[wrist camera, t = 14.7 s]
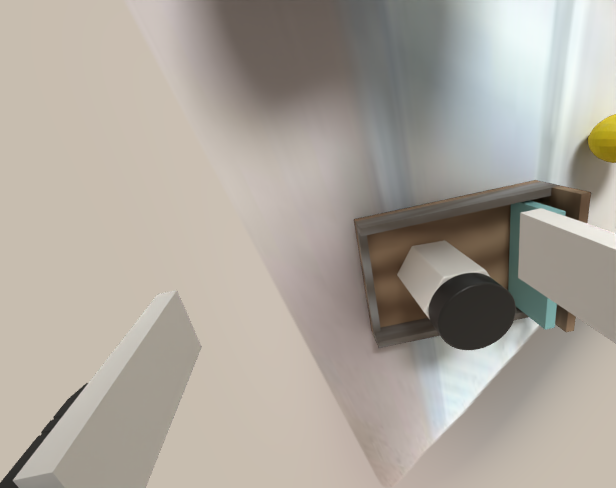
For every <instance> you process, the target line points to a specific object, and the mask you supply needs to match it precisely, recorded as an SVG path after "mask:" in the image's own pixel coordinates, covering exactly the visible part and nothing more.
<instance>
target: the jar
mask: <svg viewBox="0 0 616 488" xmlns="http://www.w3.org/2000/svg"><path fill="white" fill-rule="evenodd" d="M397 276H398V277H399V279H400V280H401V281H402V283H403V284H404V286H405V287H406V288H407V290H408V291H409V292H410V294H411V295H412V297H413V298H414V299H415V301H416V302H417V304H418V305H419V306H420V308H421V309H422V310H423V312H424V313H425V314H426V316H427V317H428V318H429V319H430V321H431V323H432V325H433V326H434V328H435V329H436V330H437V333H438V334H439V335H440V336H441V337H442V339H443V340H444V341H445V342H446V343H447V344H449V345H450V346H452V347H454V348H457V349H462V350H476V349H480V348H484V347H486V346H489V345H491V344H493V343H494V342H496V341H497V340H499V339H500V338H501V337H502V336H503V335H504V334H505V333H506V332H507V331H508V330H509V328H510V327H511V325H512V323H513V321H514V318H515V313H516V305H515V301H514V298H513V296H512V295H511V293H510V292H509V291H508V290H507V289H505V288H504V287H503V286H502V285H500V284H499V283H498V282H496V281H495V280H494V279H492V278H491V277H490V276H489V274H488V273H487V271H486V270H485V269H484V268H482V267H481V266H480V265H478V264H477V263H476V262H474V261H473V260H471V259H470V258H469V257H467V256H466V255H465V254H463V253H462V252H461V251H459V250H458V249H456V248H455V247H454V246H452V245H451V244H450V243H448V242H447V241H445V240H444V241H438V242H432V243H426V244H421V245H415V246H412V247H411V249H410V251H409V252H408V254H407V256H406V258H405V260H404V262H403V264H402V266H401V268H400V270H399V272H398V274H397Z"/></svg>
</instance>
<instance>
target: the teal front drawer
mask: <svg viewBox="0 0 616 488" xmlns="http://www.w3.org/2000/svg"><path fill="white" fill-rule="evenodd" d="M590 197H591V192H587V191H583V190H578V189H573V188H569V187H564V186H560V185H555V184H551V183H546V182H541V181H537V180H534V181H529V182H524V183H520V184H515V185H511V186H506V187H501V188H497V189H492V190H487V191H483V192H478V193H474V194H469V195H464V196H460V197H455V198H450V199H446V200H441V201H437V202H432V203H427V204H423V205H418V206H413V207H409V208H404V209H400V210H395V211H390V212H386V213H381V214H376V215H372V216H367V217H363V218H358V219H354V223H355V230H356V236H357V242H358V248H359V254H360V260H361V267H362V273H363V279H364V285H365V291H366V298H367V304H368V310H369V316H370V322H371V329H372V332H373V335H374V337H375V340H376V342H377V345H378V347H379V348H382V347H386V346H391V345H396V344H401V343H406V342H411V341H415V340H420V339H425V338H430V337H435V336H440V335H439V334H438V333H437V330H436V329H435V328H434V326H433V325H432V323H431V321H430V319H429V318H428V317H427V316H426V314H425V313H424V312H423V310H422V309H421V308H420V306H419V305H418V304H417V302H416V301H415V299H414V298H413V297H412V295H411V294H410V292H409V291H408V290H407V288H406V287H405V286H404V284H403V283H402V281H401V280H400V279H399V277H398V276H397V274H398V272H399V270H400V268H401V266H402V264H403V262H404V260H405V258H406V256H407V254H408V252H409V251H410V249H411V247H412V246H415V245H421V244H426V243H432V242H438V241H444V240H445V241H447V242H448V243H450V244H451V245H452V246H454V247H455V248H456V249H458V250H459V251H461V252H462V253H463V254H465V255H466V256H467V257H469V258H470V259H471V260H473V261H474V262H476V263H477V264H478V265H480V266H481V267H482V268H484V269H485V270H486V271H487V273H488V274H489V276H490V277H491V278H492V279H494V280H495V281H496V282H498V283H499V284H500V285H502V286H503V287H504V288H505V289H507V290H508V283H509V249H510V215H511V204H515V203H519V202H524V201H529V200H531V201H534V202H537V203H540V204H544V205H547V206H550V207H554V208H557V209H560V210H563V211H566V214H565V216H566V217H569V218H572V219H575V220H578V221H581V222H584V223H587V221H588V213H589V205H590ZM527 317H529V316H527V315H526V314H525V313H524V312H522V311H521V310H520V309H519V308H517V307H516V313H515V318H514V320H517V319H522V318H527ZM575 317H576V316H574V315H573V314H571V313H570V312H568V311H567V310H565V309H564V308H562V307H561V306H559V305H558V304H557V308H556V318H555V324H556V325H557V326H558V327H560V328H561V329H562V330H564V331H565V332H569V331H574V325H575Z"/></svg>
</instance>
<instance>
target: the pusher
mask: <svg viewBox="0 0 616 488" xmlns="http://www.w3.org/2000/svg"><path fill="white" fill-rule="evenodd" d="M539 208H542V209H545V210H548V211H551V212H554V213H557V214H560V215H563V216H565V214H566V211H563V210H560V209H557V208H554V207H550V206H547V205H544V204H540V203H537V202H534V201H531V200H529V201H524V202H519V203H515V204H511V215H510V249H509V283H508V291H509V292H510V293H511V295H512V296H513V298H514V301H515V305H516V307H517V308H519V309H520V310H521V311H522V312H524V313H525V314H526V315H527V316H529V317H530V318H531V319H532V320H534V321H535V322H536V323H537V324H539V325H540V326H541V327H543V328H544V329H550V328H554V327H555V318H556V308H557V304H556V303H555V302H553V301H552V300H550V299H549V298H547V297H546V296H544V295H543V294H542V293H540V292H539V291H537V290H536V289H534V288H533V287H531V286H530V285H528V284H527V283H525V282H524V281H522V280H521V279H519V278H518V267H519V237H520V213H521V212H526V211H530V210H535V209H539Z"/></svg>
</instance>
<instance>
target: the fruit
mask: <svg viewBox="0 0 616 488" xmlns="http://www.w3.org/2000/svg"><path fill="white" fill-rule="evenodd" d="M588 144H589V148H590V150H591V151H592V153H593V154H594V155H595V156H596V157H598V158H599V159H602V160H604V161H607V162H611V163H616V114H614V115H612V116H609V117H607V118H606V119H604V120H603V121H601V122H600V123H598V124H597V125H596V126H595V127H594V129H593V130H592V132H591V133H590V135H589V137H588Z"/></svg>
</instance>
